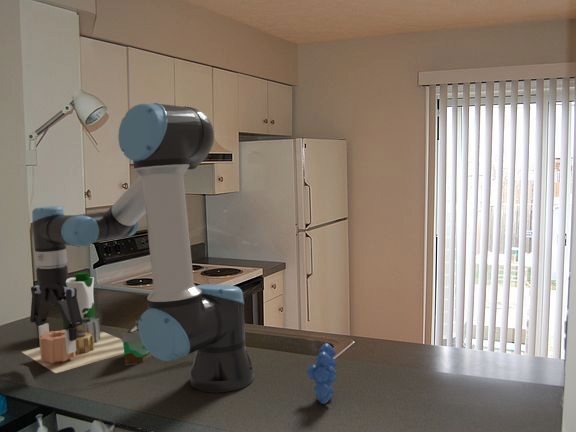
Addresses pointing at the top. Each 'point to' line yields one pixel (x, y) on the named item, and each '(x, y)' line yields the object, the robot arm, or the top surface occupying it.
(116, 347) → the carrier
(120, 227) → the robot arm
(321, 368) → the grapes
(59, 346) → the planet gear
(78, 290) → the milk carton
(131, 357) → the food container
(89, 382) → the top surface
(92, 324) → the seated gear
